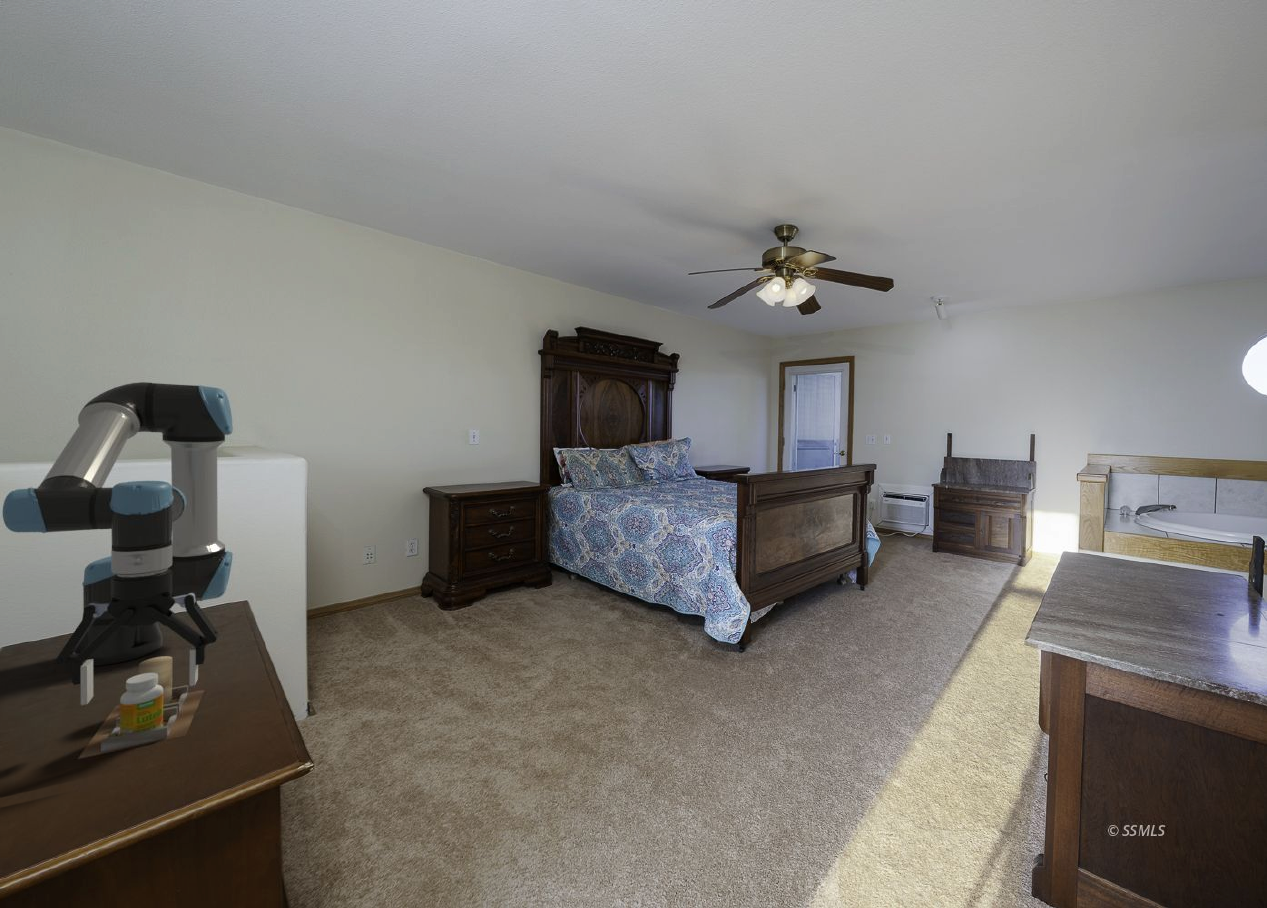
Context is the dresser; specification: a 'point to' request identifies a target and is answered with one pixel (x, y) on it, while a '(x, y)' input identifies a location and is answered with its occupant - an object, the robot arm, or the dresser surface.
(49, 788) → the dresser surface
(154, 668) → the beech dowel
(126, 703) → the supplement bottle
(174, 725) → the board
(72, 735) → the dresser surface
